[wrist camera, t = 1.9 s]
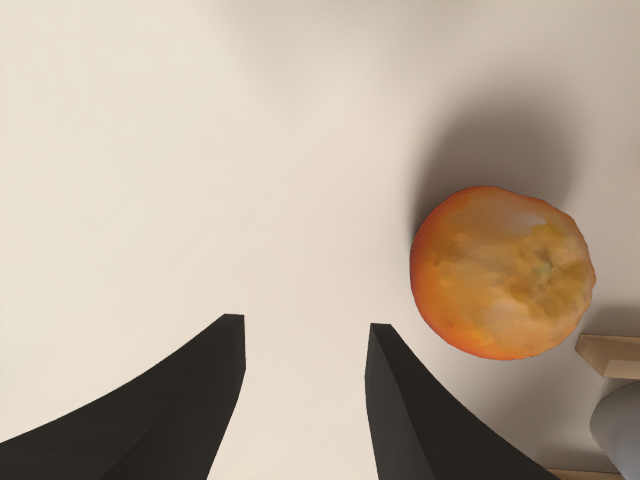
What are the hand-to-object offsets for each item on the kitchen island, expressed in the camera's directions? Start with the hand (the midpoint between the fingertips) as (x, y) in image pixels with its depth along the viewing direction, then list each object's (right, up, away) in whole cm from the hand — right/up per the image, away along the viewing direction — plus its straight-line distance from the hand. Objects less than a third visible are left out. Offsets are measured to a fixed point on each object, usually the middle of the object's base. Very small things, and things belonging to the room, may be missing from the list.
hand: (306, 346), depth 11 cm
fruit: (+9, +3, +9) cm, 13 cm away
